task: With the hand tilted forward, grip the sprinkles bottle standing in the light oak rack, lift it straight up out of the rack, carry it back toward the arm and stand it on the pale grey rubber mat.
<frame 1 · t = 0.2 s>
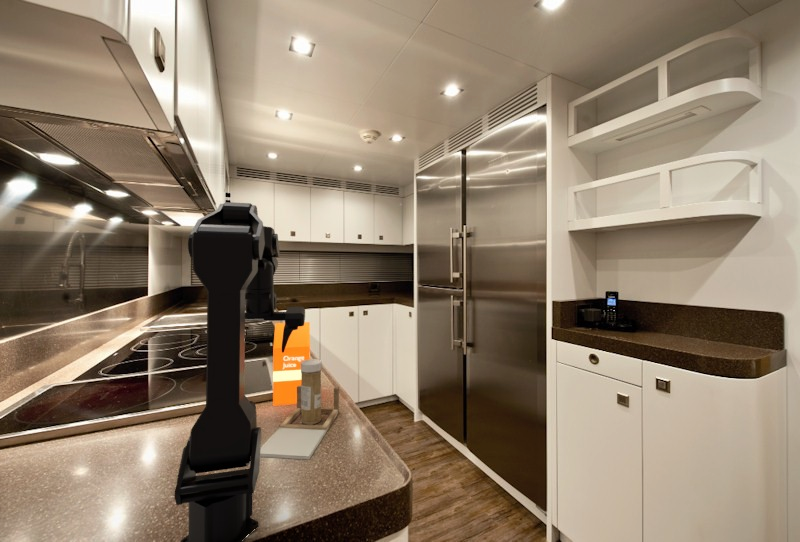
hand: (261, 352, 73), 15 cm above the countertop, tool pointing down, fingers open, 9 cm apart
mat: (293, 443, 63), on the countertop
plastic bottle: (286, 388, 93), on the countertop
sprinkles bottle: (311, 421, 73), resting in rack
rack: (311, 420, 73), on the countertop
orange juice: (292, 399, 86), on the countertop
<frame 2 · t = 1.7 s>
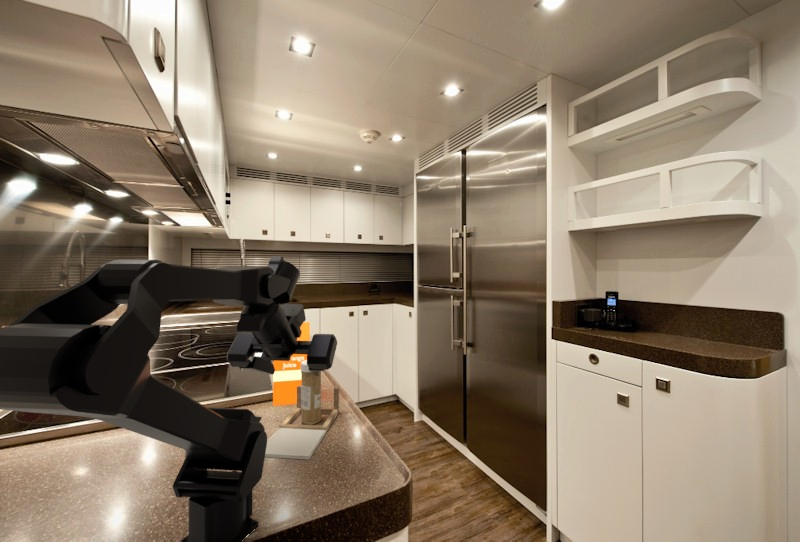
hand: (295, 372, 65), 13 cm above the countertop, tool tilted 45°, fingers open, 9 cm apart
nothing on the countertop moved.
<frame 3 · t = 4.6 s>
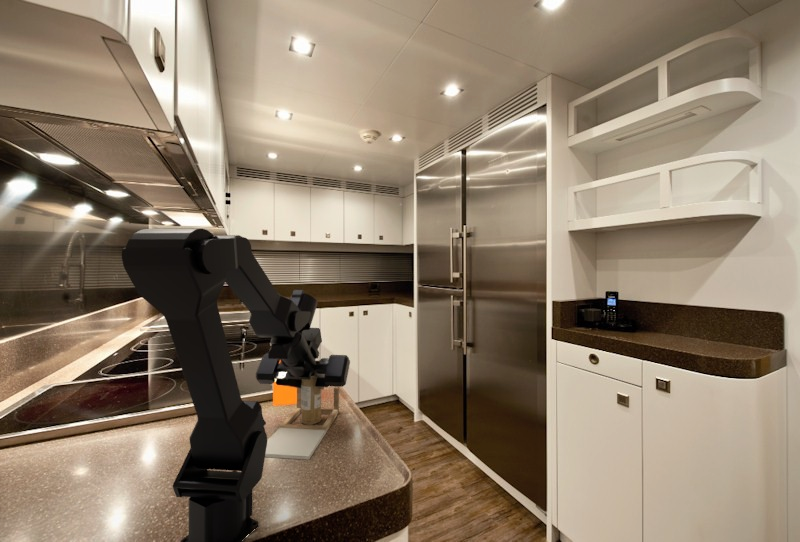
hand: (313, 387, 74), 7 cm above the countertop, tool tilted 45°, fingers closed on sprinkles bottle, 4 cm apart
sprinkles bottle: (311, 421, 73), resting in rack, touching gripper
everything else where it was.
when the fingers open (9 cm above the countertop, at t = 7.5 s): sprinkles bottle stays where it is, resting on mat.
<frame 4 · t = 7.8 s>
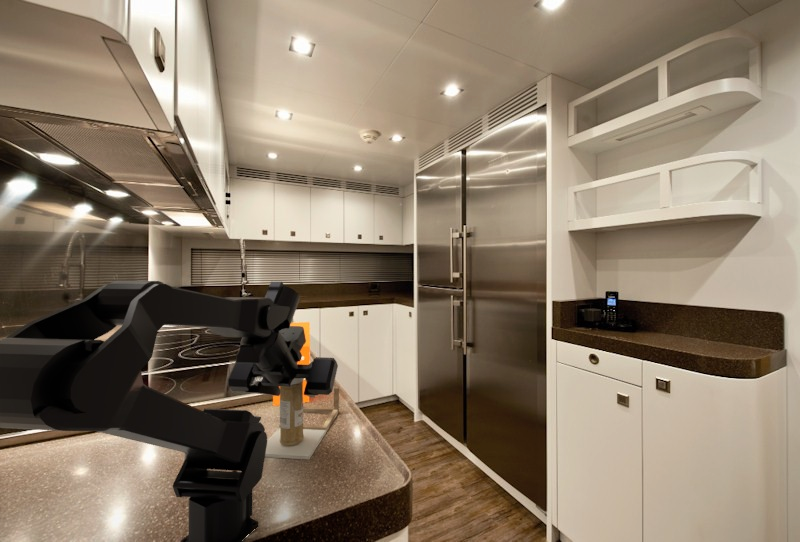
hand: (296, 394, 65), 9 cm above the countertop, tool tilted 45°, fingers open, 7 cm apart
sprinkles bottle: (291, 441, 63), resting on mat
everything else where it was.
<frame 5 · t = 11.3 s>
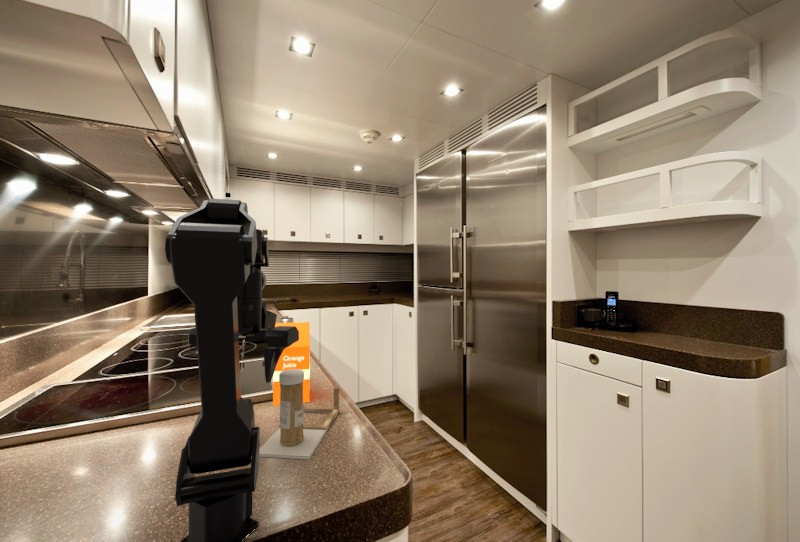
hand: (245, 381, 61), 13 cm above the countertop, tool pointing down, fingers open, 9 cm apart
nothing on the countertop moved.
at the end: sprinkles bottle 0.3 cm from the mat (horizontally); sprinkles bottle tilted 0°; the gripper is holding nothing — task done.
